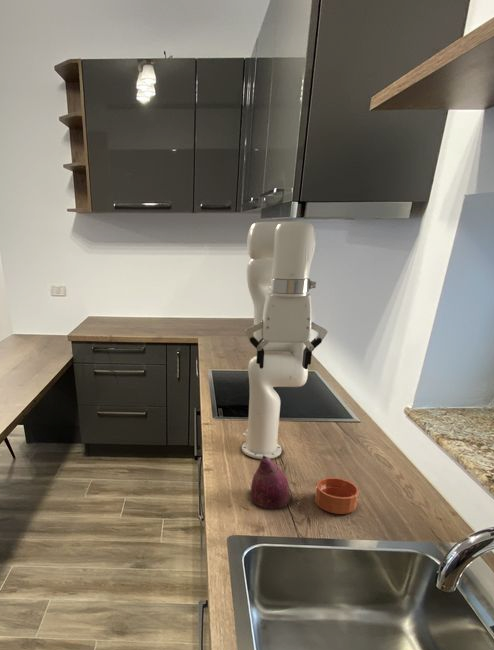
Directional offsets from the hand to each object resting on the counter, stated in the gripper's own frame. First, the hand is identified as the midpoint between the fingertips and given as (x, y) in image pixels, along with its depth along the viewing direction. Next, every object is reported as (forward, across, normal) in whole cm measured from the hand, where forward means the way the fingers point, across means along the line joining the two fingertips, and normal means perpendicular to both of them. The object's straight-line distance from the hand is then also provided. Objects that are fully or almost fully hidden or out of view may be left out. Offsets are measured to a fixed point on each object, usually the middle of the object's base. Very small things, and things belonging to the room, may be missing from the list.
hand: (282, 367), depth 99 cm
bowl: (+37, -17, -3) cm, 41 cm away
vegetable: (+38, 0, -4) cm, 38 cm away
